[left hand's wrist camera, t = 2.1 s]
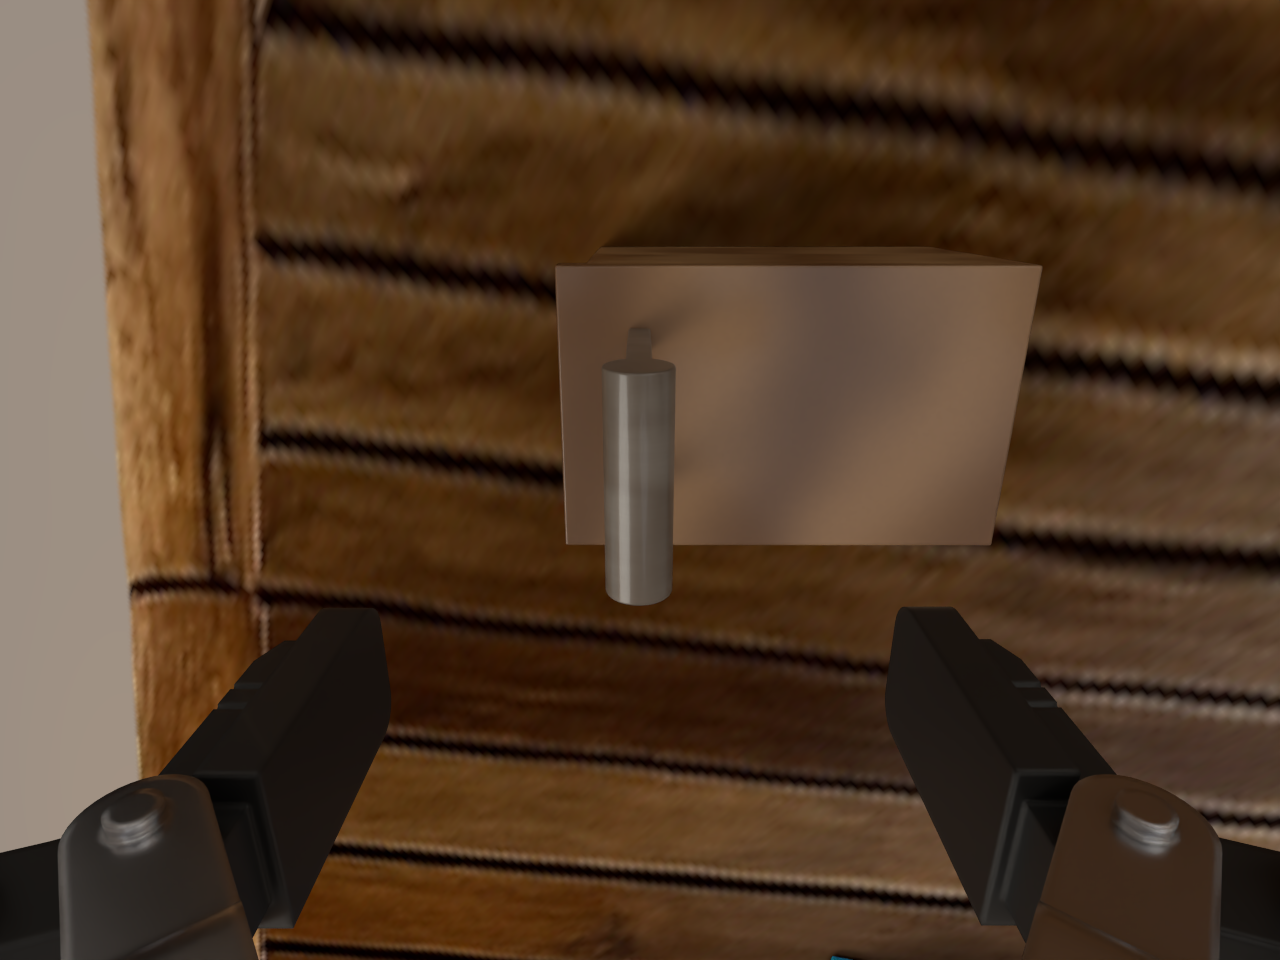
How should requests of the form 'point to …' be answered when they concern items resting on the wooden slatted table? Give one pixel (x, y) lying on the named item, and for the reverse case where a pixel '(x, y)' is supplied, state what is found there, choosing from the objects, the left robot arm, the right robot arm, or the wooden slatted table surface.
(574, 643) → the wooden slatted table surface
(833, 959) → the model building
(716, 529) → the lid
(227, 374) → the wooden slatted table surface
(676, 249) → the chest
